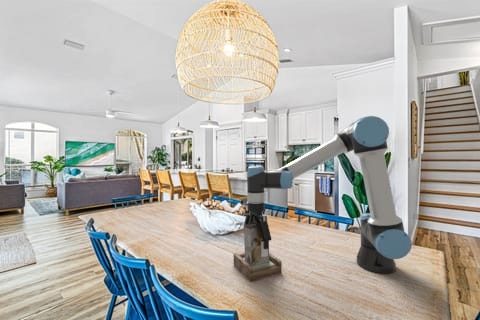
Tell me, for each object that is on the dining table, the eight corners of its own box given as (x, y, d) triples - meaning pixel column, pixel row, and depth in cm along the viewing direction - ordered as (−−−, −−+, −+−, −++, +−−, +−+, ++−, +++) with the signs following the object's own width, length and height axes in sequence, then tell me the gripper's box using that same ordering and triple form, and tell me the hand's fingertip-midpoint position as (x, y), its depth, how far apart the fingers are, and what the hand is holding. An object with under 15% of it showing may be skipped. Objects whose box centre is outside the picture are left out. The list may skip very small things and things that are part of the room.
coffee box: (261, 256, 107) (261, 221, 106) (269, 262, 101) (269, 225, 101) (244, 260, 102) (243, 224, 102) (251, 266, 97) (250, 228, 96)
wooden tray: (281, 273, 98) (281, 261, 98) (250, 281, 91) (250, 268, 91) (262, 258, 112) (261, 247, 112) (233, 265, 106) (233, 253, 106)
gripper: (279, 206, 92) (280, 259, 92) (250, 196, 114) (250, 239, 114) (263, 208, 88) (264, 263, 89) (236, 198, 111) (236, 242, 111)
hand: (256, 250), depth 102 cm, fingers open, 13 cm apart
